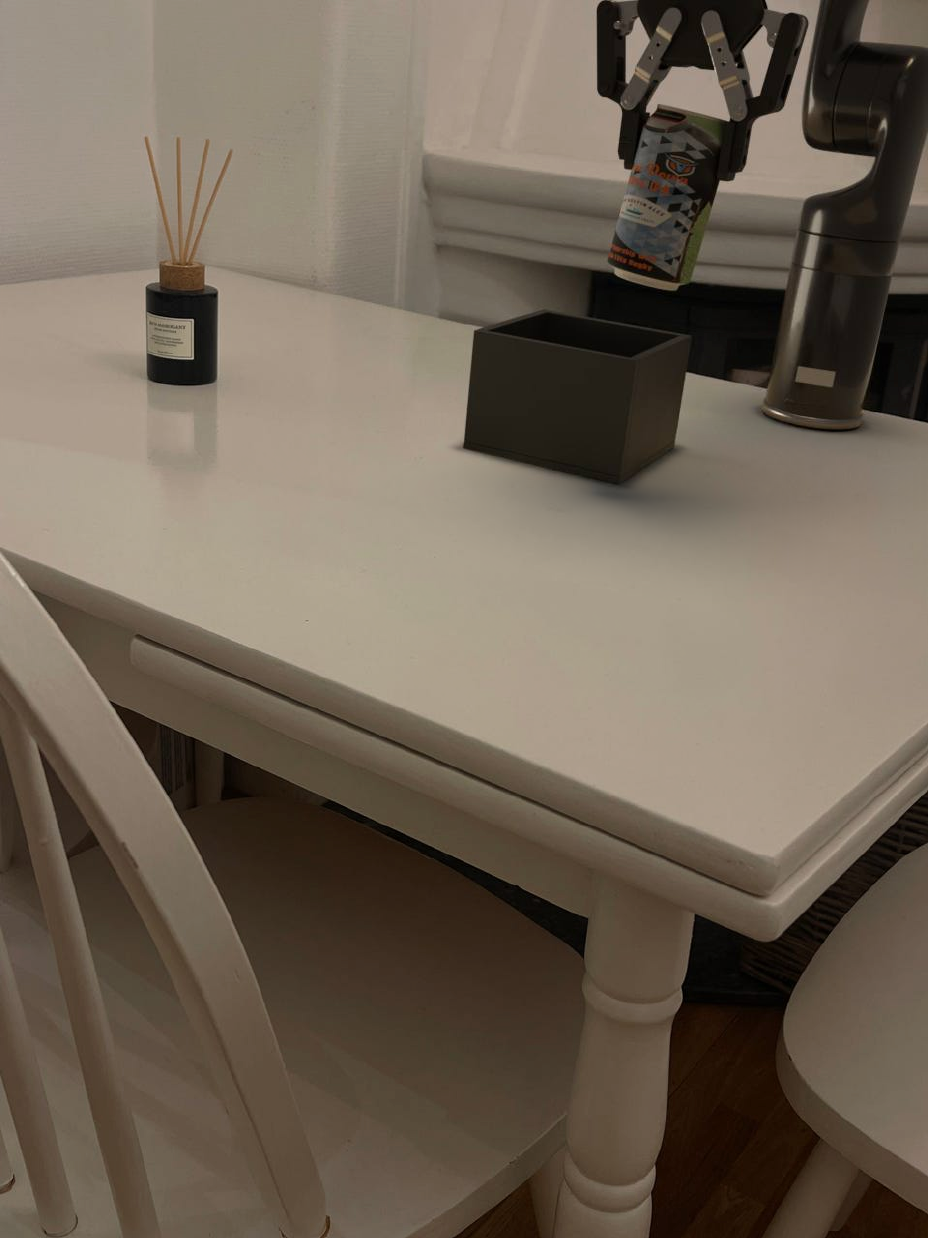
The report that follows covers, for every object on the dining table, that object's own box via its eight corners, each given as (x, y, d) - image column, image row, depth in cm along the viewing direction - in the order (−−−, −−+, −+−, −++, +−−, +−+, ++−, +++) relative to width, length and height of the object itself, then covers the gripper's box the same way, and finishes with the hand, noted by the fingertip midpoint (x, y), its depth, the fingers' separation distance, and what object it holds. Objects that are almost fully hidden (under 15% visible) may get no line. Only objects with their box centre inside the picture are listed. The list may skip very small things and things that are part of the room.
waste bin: (531, 416, 114) (543, 308, 110) (674, 446, 108) (692, 335, 105) (462, 448, 102) (473, 329, 99) (618, 484, 97) (636, 360, 93)
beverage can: (589, 278, 91) (610, 98, 86) (675, 278, 94) (700, 104, 88) (634, 296, 85) (659, 106, 80) (724, 295, 88) (753, 112, 83)
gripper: (844, -96, 79) (794, 184, 87) (630, -104, 85) (599, 160, 92) (819, -112, 73) (768, 191, 80) (590, -119, 79) (560, 165, 86)
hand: (678, 173), depth 86 cm, fingers closed on beverage can, 6 cm apart
